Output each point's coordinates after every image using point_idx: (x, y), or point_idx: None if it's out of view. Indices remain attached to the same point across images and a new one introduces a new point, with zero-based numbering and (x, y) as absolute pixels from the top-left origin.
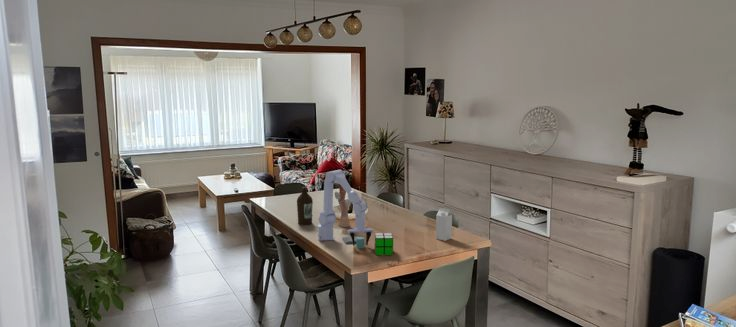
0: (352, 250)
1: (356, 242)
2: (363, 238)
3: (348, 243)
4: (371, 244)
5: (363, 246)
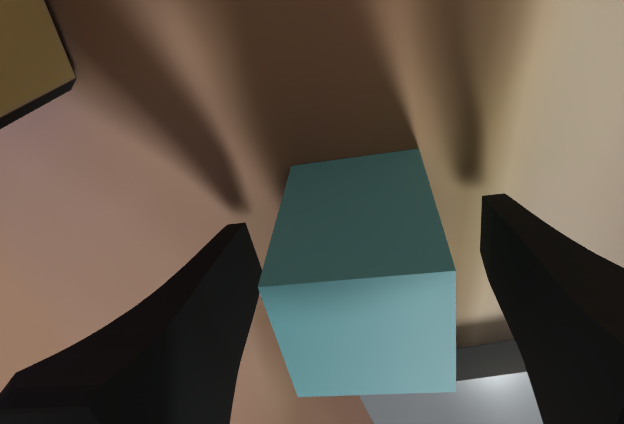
0: (544, 6)
1: None
2: (281, 324)
3: None
4: None
5: (298, 179)
